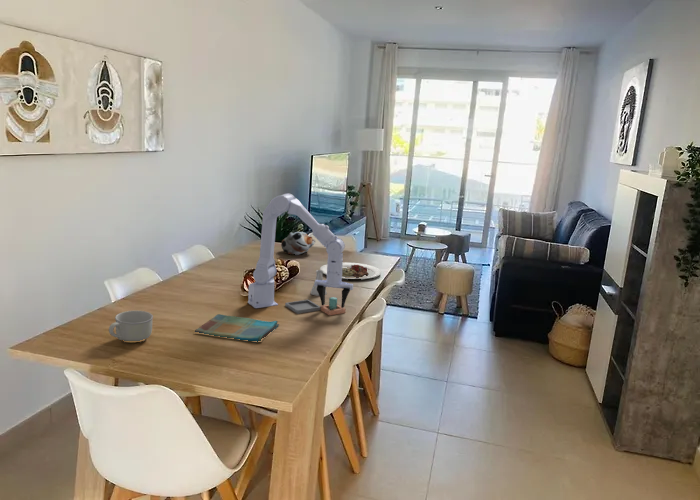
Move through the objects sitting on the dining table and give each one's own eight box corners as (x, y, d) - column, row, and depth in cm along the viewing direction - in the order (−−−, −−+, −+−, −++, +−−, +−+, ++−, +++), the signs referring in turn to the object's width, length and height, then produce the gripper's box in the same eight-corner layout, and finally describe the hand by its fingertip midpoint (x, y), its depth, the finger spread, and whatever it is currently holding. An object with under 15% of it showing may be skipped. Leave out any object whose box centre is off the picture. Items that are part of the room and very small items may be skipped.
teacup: (142, 330, 169) (141, 307, 167) (160, 340, 162) (159, 316, 160) (99, 342, 158) (97, 317, 156) (116, 353, 151) (115, 327, 150)
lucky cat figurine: (307, 249, 299) (317, 228, 291) (308, 263, 288) (318, 242, 280) (280, 241, 294) (289, 219, 286) (279, 255, 283) (288, 233, 275)
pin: (331, 312, 194) (331, 300, 193) (327, 310, 197) (327, 297, 196) (338, 311, 196) (338, 299, 195) (333, 309, 198) (334, 296, 197)
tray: (297, 314, 192) (297, 310, 191) (285, 306, 200) (285, 302, 199) (320, 310, 197) (320, 307, 197) (308, 303, 205) (308, 299, 205)
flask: (324, 297, 214) (325, 273, 212) (308, 295, 215) (308, 272, 213) (329, 292, 221) (330, 269, 218) (312, 290, 222) (313, 268, 220)
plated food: (313, 278, 241) (313, 271, 241) (327, 263, 270) (327, 257, 270) (376, 285, 237) (377, 277, 236) (384, 269, 265) (384, 262, 265)
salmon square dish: (329, 316, 192) (329, 311, 191) (320, 310, 197) (320, 305, 197) (345, 313, 196) (345, 308, 195) (335, 307, 201) (335, 303, 201)
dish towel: (261, 345, 164) (261, 338, 163) (193, 335, 168) (193, 328, 168) (279, 327, 180) (279, 320, 179) (217, 318, 185) (217, 311, 184)
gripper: (355, 270, 196) (353, 304, 198) (318, 266, 198) (317, 300, 201) (351, 275, 189) (350, 310, 192) (313, 271, 192) (312, 306, 194)
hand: (332, 305), depth 196 cm, fingers open, 7 cm apart
